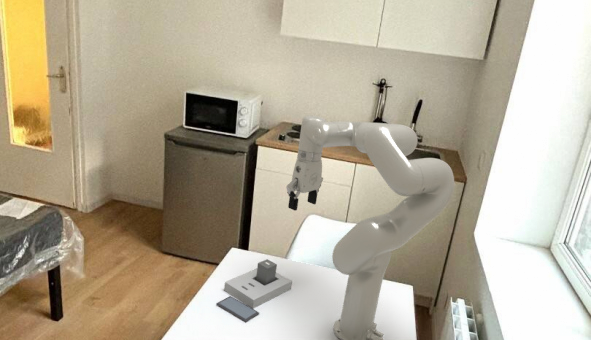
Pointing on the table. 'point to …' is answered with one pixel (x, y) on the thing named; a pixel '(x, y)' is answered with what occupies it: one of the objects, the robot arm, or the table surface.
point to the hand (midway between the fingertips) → (302, 206)
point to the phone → (237, 309)
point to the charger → (266, 272)
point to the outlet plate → (256, 288)
